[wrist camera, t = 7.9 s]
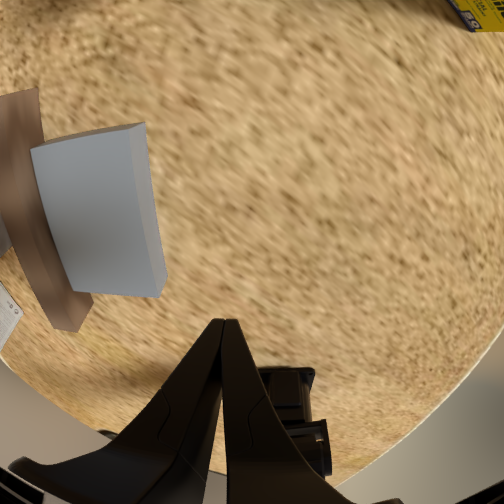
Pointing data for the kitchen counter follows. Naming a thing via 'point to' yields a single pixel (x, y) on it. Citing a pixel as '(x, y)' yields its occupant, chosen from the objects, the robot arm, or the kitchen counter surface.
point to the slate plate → (103, 210)
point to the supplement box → (481, 14)
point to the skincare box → (7, 315)
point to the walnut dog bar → (32, 214)
